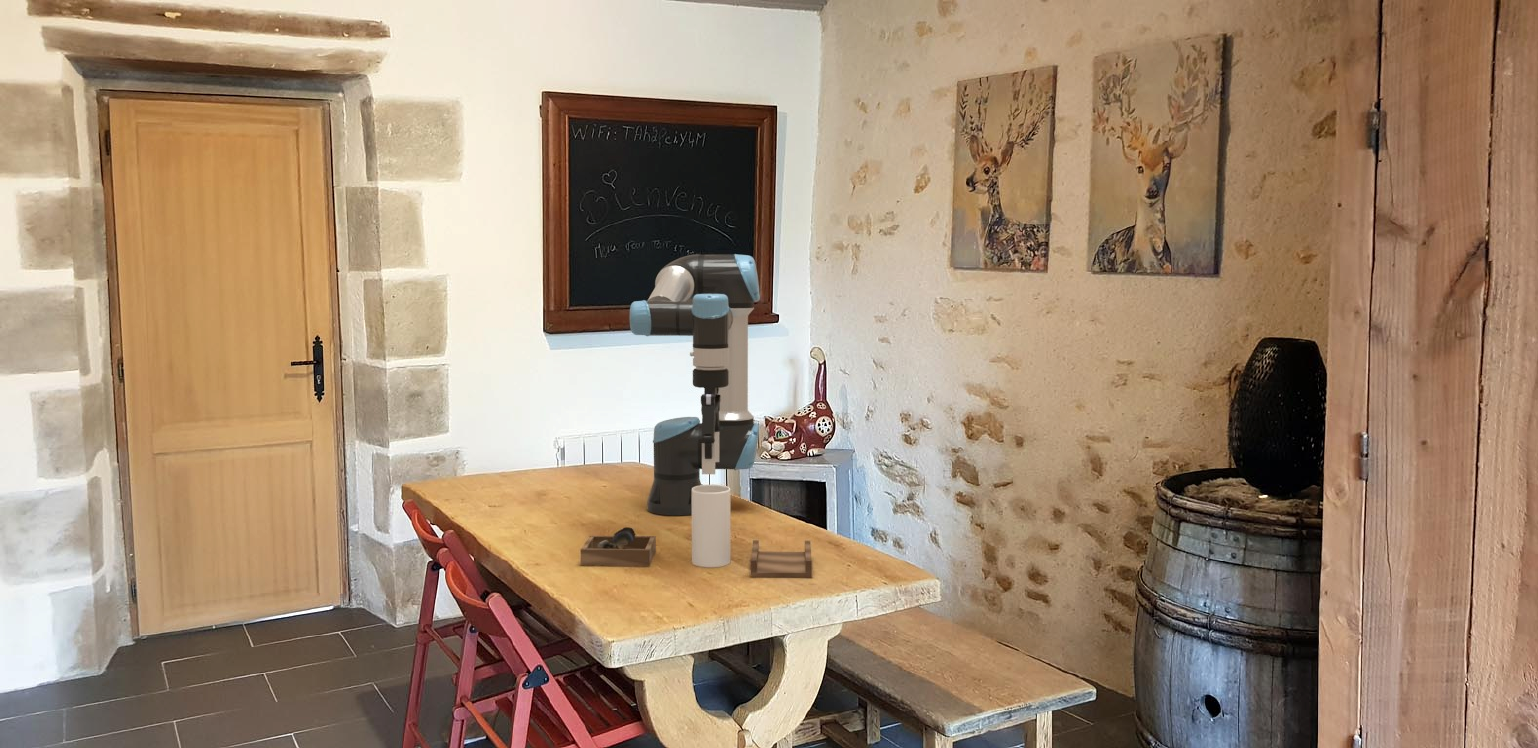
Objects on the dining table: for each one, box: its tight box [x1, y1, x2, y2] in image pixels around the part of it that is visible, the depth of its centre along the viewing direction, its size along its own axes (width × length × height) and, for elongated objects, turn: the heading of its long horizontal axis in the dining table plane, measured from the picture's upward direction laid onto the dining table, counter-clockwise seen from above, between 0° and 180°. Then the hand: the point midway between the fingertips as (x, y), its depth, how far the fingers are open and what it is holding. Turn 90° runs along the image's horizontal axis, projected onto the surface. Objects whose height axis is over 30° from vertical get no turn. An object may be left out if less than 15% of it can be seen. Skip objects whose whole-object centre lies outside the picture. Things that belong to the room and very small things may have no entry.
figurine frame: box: [580, 535, 657, 567], centre depth 246 cm, size 12×14×4 cm
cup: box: [691, 484, 731, 568], centre depth 243 cm, size 8×8×16 cm
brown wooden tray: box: [750, 539, 813, 579], centre depth 240 cm, size 16×12×4 cm
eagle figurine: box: [598, 526, 637, 549], centre depth 245 cm, size 8×7×9 cm
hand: (710, 467), depth 241 cm, fingers open, 13 cm apart
